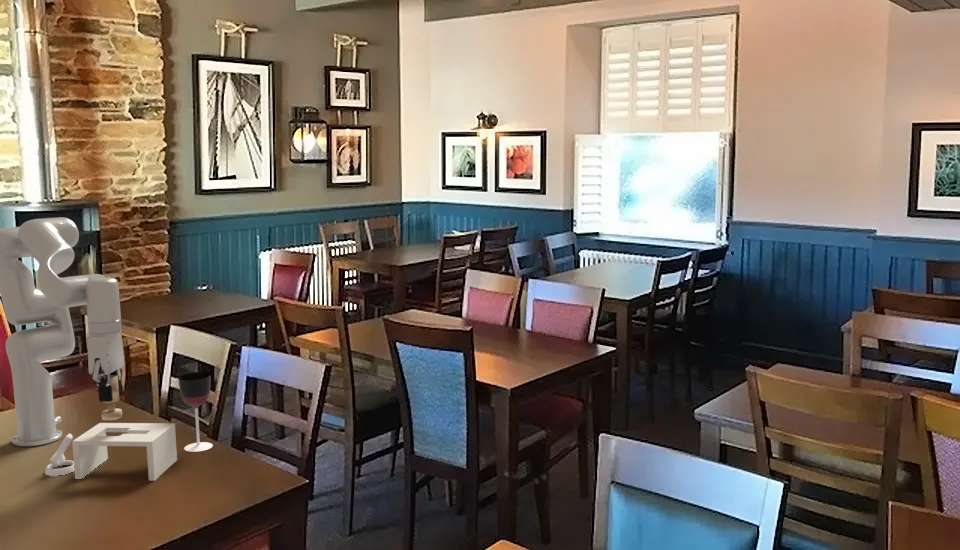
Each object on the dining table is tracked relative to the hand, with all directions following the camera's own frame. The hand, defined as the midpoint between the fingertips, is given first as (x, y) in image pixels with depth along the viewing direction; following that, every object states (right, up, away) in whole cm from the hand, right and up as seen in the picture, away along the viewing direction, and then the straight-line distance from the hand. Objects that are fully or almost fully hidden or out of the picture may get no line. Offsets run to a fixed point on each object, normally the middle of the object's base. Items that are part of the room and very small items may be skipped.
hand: (110, 397), depth 212 cm
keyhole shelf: (+3, -19, +3) cm, 19 cm away
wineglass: (+16, -16, +19) cm, 30 cm away
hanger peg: (0, -5, +1) cm, 5 cm away
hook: (-14, -19, +3) cm, 24 cm away
